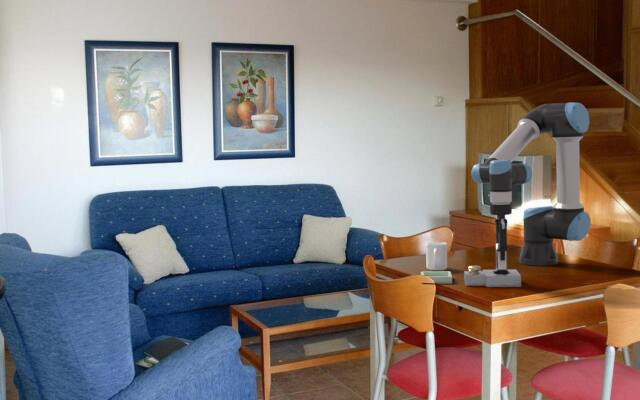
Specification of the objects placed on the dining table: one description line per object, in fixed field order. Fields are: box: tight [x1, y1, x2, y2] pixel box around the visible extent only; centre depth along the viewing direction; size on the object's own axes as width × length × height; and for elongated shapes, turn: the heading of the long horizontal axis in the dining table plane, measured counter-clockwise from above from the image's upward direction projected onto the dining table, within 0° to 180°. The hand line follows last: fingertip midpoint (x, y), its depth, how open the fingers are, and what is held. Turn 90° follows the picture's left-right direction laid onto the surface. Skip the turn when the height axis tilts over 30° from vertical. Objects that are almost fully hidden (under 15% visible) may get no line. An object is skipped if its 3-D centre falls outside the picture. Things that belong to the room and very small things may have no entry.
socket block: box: [463, 268, 522, 288], centre depth 275 cm, size 19×12×4 cm, turn 84°
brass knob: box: [467, 265, 482, 274], centre depth 275 cm, size 4×4×5 cm
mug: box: [425, 241, 448, 271], centre depth 305 cm, size 12×8×10 cm
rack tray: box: [420, 270, 453, 285], centre depth 283 cm, size 11×11×2 cm
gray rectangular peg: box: [495, 242, 508, 274], centre depth 274 cm, size 4×4×14 cm
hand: (501, 267), depth 274 cm, fingers closed on gray rectangular peg, 4 cm apart
